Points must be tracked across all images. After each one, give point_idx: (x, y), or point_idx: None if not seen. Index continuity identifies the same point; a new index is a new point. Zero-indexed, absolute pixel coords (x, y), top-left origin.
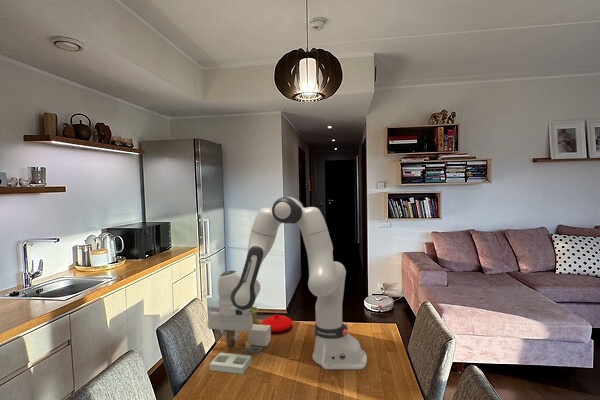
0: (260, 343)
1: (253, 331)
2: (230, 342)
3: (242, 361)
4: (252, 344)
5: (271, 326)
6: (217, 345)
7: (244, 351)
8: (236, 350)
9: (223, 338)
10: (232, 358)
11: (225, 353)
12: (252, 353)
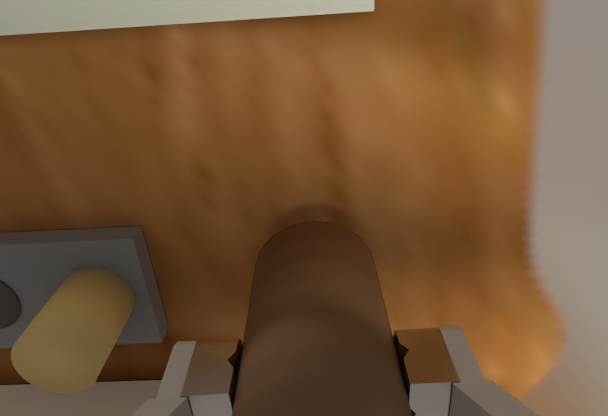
0: (28, 406)
1: None
2: (285, 281)
3: None
4: (133, 385)
5: None
6: (544, 300)
7: (104, 236)
8: (245, 252)
9: (454, 333)
10: None
11: (247, 4)
12: (3, 233)
